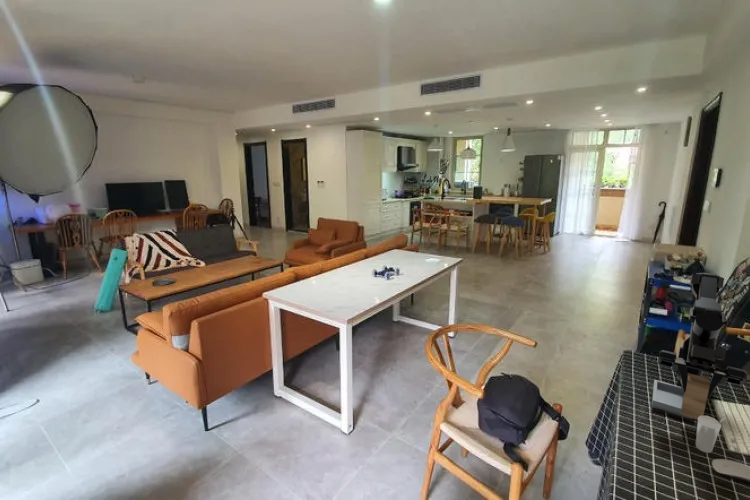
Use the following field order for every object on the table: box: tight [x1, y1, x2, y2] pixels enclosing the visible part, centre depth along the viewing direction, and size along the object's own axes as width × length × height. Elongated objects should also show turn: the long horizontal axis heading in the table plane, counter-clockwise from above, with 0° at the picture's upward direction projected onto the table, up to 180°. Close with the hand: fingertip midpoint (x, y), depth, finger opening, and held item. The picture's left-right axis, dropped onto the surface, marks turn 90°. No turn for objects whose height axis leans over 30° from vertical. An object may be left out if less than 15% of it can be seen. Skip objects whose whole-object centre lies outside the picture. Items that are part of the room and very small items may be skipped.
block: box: [681, 373, 710, 421], centre depth 103 cm, size 4×4×11 cm
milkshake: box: [695, 415, 726, 454], centre depth 96 cm, size 4×5×10 cm
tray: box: [651, 379, 693, 421], centre depth 116 cm, size 14×10×2 cm
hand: (695, 395), depth 102 cm, fingers closed on block, 4 cm apart
